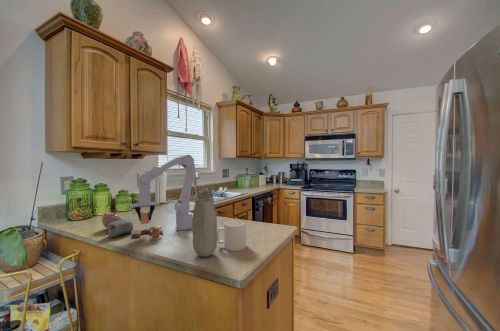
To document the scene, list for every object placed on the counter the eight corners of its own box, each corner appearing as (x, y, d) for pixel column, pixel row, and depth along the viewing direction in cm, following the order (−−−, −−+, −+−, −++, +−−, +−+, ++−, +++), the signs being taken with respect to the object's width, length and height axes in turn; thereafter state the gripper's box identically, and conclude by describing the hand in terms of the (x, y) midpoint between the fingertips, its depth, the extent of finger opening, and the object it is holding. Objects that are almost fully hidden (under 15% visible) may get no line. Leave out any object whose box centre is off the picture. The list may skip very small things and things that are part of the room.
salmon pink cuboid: (149, 221, 131) (149, 211, 131) (147, 223, 128) (147, 212, 127) (143, 222, 131) (143, 211, 131) (140, 223, 127) (140, 212, 127)
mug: (216, 251, 104) (216, 227, 104) (217, 243, 115) (217, 221, 114) (247, 250, 106) (246, 226, 106) (245, 242, 116) (245, 220, 116)
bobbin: (161, 235, 128) (161, 224, 127) (162, 239, 122) (161, 227, 122) (149, 237, 125) (149, 226, 125) (149, 240, 120) (149, 229, 120)
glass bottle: (217, 259, 96) (216, 190, 96) (192, 261, 95) (190, 191, 94) (217, 250, 106) (216, 187, 106) (193, 251, 105) (192, 188, 104)
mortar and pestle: (126, 229, 141) (125, 210, 141) (102, 233, 134) (102, 213, 134) (123, 225, 151) (123, 207, 151) (101, 228, 144) (101, 209, 144)
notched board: (162, 231, 137) (161, 227, 136) (162, 234, 130) (162, 230, 130) (133, 234, 131) (133, 230, 131) (132, 238, 124) (132, 234, 124)
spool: (111, 234, 121) (111, 215, 125) (102, 240, 125) (103, 221, 130) (137, 234, 131) (136, 216, 136) (128, 239, 136) (128, 222, 140)
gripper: (158, 193, 135) (159, 217, 136) (130, 195, 130) (131, 220, 130) (159, 195, 129) (159, 220, 129) (129, 197, 123) (130, 223, 124)
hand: (145, 220), depth 129 cm, fingers closed on salmon pink cuboid, 4 cm apart
